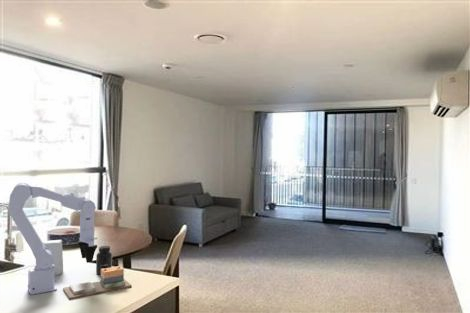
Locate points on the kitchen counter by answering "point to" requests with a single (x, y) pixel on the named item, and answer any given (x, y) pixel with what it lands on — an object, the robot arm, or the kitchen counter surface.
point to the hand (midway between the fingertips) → (87, 259)
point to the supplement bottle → (103, 259)
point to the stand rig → (93, 288)
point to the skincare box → (56, 254)
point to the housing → (112, 275)
